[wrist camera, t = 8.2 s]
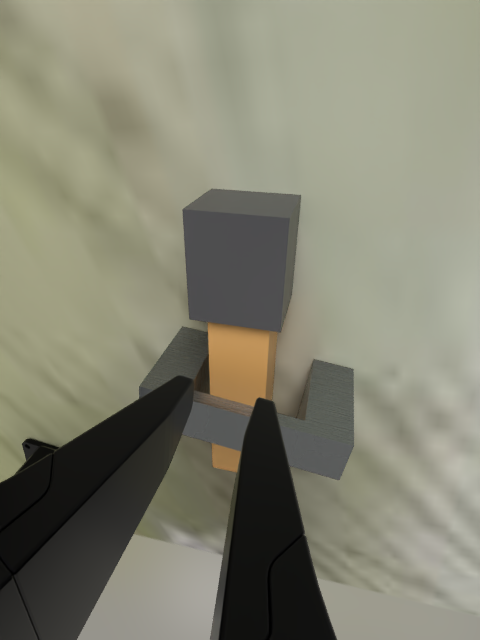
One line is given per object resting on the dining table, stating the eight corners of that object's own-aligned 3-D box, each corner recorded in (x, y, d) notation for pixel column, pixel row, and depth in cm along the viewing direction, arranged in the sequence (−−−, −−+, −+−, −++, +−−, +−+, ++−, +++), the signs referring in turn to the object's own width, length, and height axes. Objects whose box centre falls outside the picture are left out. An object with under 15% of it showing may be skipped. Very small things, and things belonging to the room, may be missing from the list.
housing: (326, 443, 24) (320, 524, 20) (178, 401, 26) (140, 468, 21) (353, 369, 21) (353, 445, 17) (182, 326, 23) (139, 386, 18)
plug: (278, 441, 26) (267, 491, 22) (217, 429, 26) (199, 475, 23) (301, 195, 17) (289, 218, 14) (212, 188, 18) (182, 209, 15)
